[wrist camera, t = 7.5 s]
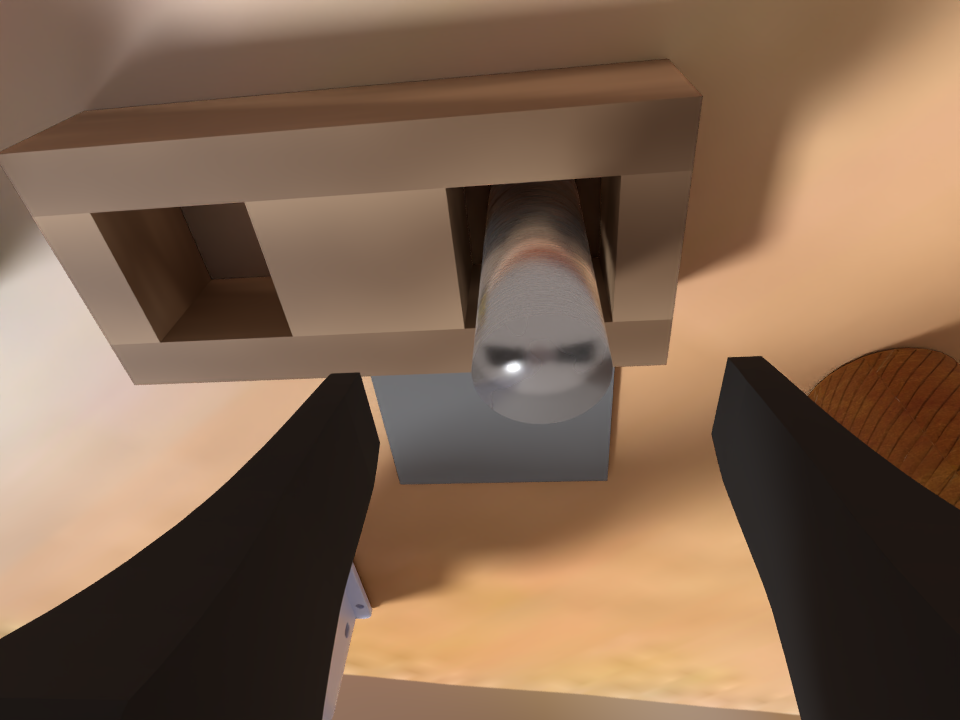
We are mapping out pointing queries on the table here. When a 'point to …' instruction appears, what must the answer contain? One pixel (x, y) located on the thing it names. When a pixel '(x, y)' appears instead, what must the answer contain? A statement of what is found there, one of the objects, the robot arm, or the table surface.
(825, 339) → the table surface
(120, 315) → the socket block
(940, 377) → the disposable coffee cup
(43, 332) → the table surface
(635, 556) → the table surface
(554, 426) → the mat
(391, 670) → the table surface
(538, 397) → the peg
